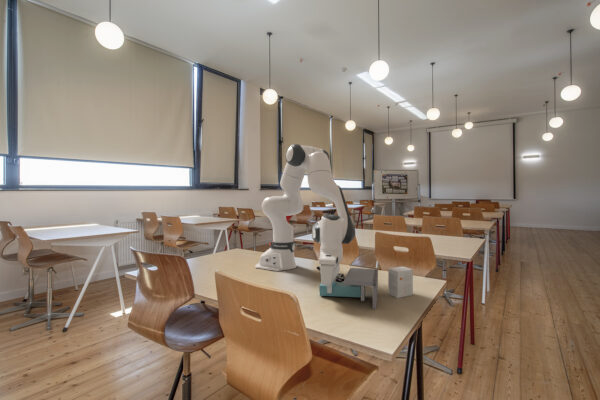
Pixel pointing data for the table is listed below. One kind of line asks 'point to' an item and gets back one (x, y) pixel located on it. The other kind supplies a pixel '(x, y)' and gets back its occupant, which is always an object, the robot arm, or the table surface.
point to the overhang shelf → (364, 281)
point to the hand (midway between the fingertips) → (331, 289)
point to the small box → (400, 282)
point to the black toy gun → (339, 277)
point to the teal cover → (341, 290)
